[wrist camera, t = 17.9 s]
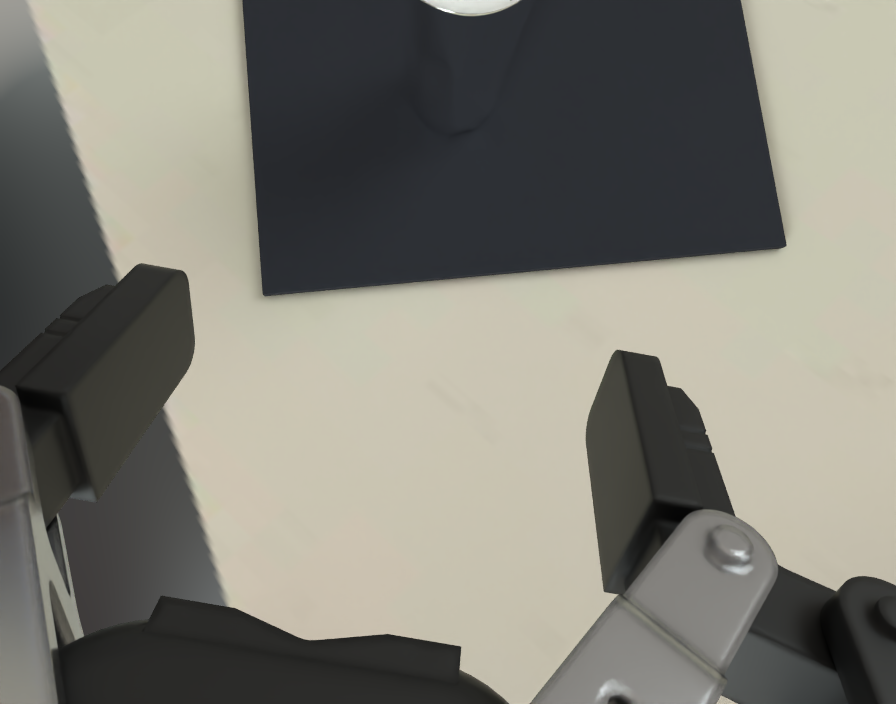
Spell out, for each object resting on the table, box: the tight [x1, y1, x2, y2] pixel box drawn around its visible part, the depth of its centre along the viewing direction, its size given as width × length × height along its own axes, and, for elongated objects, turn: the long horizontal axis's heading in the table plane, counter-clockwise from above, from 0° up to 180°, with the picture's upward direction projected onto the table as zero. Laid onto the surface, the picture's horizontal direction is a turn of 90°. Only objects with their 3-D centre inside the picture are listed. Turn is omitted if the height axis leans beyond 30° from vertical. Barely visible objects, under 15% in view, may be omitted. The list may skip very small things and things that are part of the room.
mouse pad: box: [243, 0, 786, 296], centre depth 25 cm, size 20×16×1 cm
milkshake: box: [395, 0, 534, 135], centre depth 20 cm, size 4×5×10 cm
